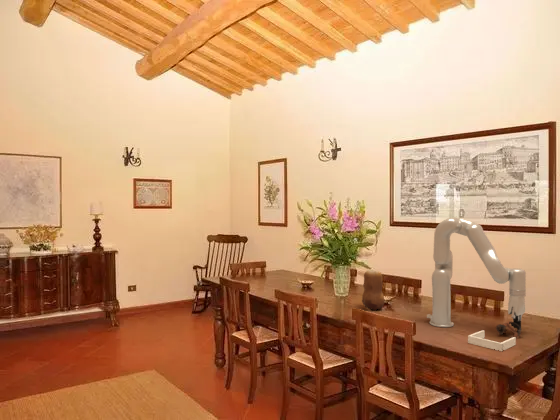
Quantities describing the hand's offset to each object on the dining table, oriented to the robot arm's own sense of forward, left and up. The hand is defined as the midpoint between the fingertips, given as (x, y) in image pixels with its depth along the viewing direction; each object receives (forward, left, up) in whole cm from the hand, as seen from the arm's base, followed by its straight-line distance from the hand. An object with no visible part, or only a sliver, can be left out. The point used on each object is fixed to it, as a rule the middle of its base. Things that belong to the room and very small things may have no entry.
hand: (517, 327), depth 231 cm
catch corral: (0, -27, -3) cm, 27 cm away
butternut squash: (-81, -16, -3) cm, 83 cm away
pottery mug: (-1, -9, -3) cm, 9 cm away
